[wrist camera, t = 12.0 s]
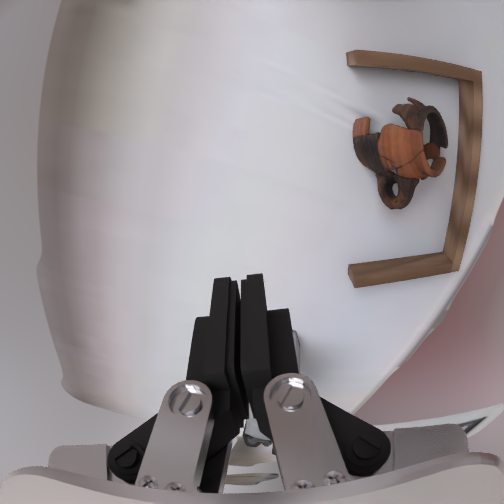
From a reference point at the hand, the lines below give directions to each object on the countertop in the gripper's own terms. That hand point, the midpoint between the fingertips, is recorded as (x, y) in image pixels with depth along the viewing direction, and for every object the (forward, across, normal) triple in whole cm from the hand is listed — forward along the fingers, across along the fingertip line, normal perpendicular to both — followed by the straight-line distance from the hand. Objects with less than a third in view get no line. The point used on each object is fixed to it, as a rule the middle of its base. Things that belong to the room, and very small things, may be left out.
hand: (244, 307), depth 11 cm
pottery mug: (+24, -16, 0) cm, 29 cm away
